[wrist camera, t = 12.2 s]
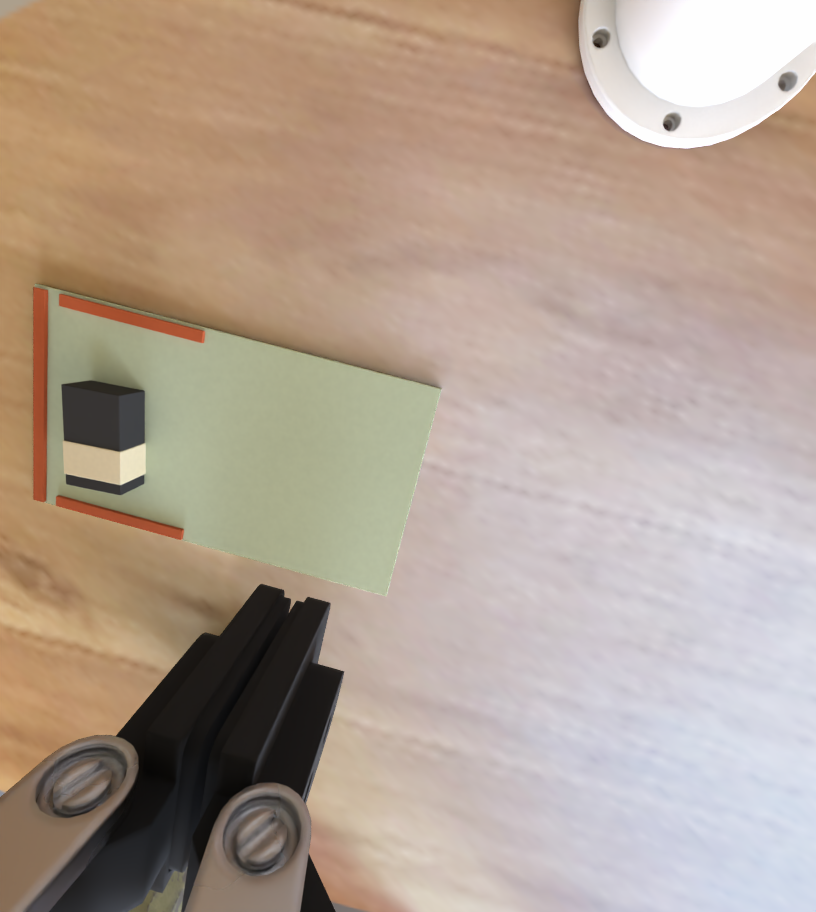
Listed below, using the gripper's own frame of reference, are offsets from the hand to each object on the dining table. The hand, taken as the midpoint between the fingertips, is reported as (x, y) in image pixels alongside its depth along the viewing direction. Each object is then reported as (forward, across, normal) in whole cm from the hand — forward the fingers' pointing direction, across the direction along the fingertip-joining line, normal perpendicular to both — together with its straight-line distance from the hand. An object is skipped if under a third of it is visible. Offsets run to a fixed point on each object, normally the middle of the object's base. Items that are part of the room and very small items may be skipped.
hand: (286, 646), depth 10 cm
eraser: (+21, +20, +5) cm, 29 cm away
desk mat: (+21, +12, +4) cm, 25 cm away
